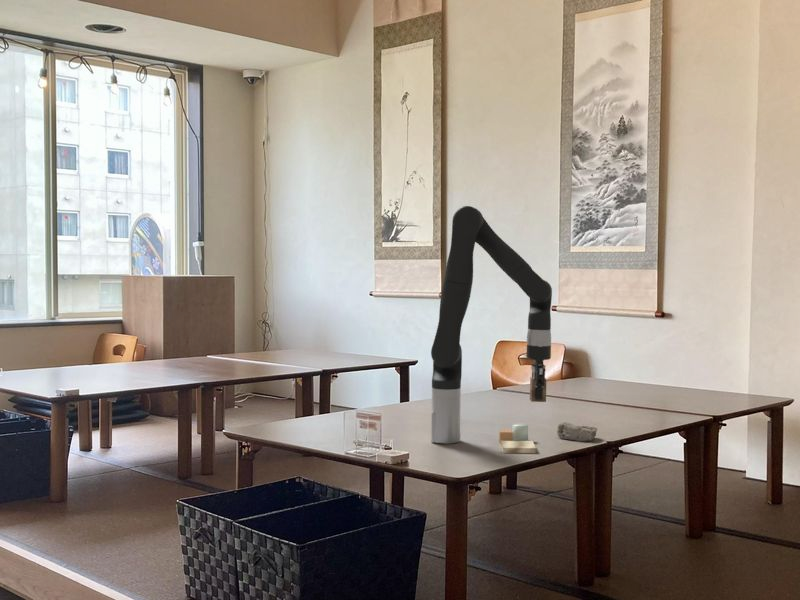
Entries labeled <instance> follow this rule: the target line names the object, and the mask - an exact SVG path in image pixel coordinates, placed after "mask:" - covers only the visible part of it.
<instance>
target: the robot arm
mask: <svg viewBox="0 0 800 600" xmlns="http://www.w3.org/2000/svg"><path fill="white" fill-rule="evenodd" d="M451 223H452V225H451V226H452V227H451V240H450V241H451V242H450V249H449V253H448V258H447V262H446V265H445V270H444V276H443V281H442V287H441V292H440V293H441V294H440V301H439V302H440V303H439V312H438V313H439V317H438V324H437V328H436V333H435V336H434V339H433V344H432V346H431V350H430V355H431V360H432V361H433V362H432V364H433V365H432V377H431V433H430V434H431V435H430V436H431V441H430V442H431V443H437V444H456V443H460V442H461V410H462V409H461V407H462V406H461V397H462V396H461V394H462V393H461V391H462V390H461V386H462V384H461V382H462V375H463V374H462V366H463V358H462V357H463V350H462V346H461V344H460V342H461V331H462V325H463V321H464V318H465V315H466V314H467V313H466V312H467V309H468V308H469V307H468V306H469V304H470V303H469V302H470V298H471V294H472V289H473V281H474V280H473V279H474V251H475V250H474V249H475V245H476V244H478V245H479V246H480V248H482V249H483V250H484V251H485V252H486V253H487V254H488V255H489V256H490V258H492V260H493V261H494V262H495V264H496V265H497V266H498V267H499V268H500V269H501V270H502V271H503V273H505V274H506V275H507V276H508V277H509V278H510V279H511V280H512V282H515V284H517V285H518V287H519V288H520V289H521V290H522V292H524V293H525V294H526V296H527V297H528V298H529V312H528V317H527V318H528V319H527V335H526V359H528V360H532V361H533V362H531V366H530V367H531V377H532V378H533V379H534V380H535V399H536V400H542V395H543V386H544V385H545V384H544V380H545V379H546V365H545V364H544V361H547V360H549V361H550V360H551V358H552V357H551V356H552V333H551V332H552V331H551V329H552V328H551V326H552V322H551V321H552V319H551V318H552V317H551V311H552V310H551V308H552V299H553V298H552V297H553V289H552V288H553V287H552V286H551V284H550V282H548V281H547V280H544V279H543V278H542V277H541V276H540V275H538V273H536V271H534V269H533V268H532V267H531V264H529V263H528V262H527V261H526V260H525V259H524V258H523V256H521V255H520V254H519V253H518V252H516V250H514V249H513V248H512V247H511V246H510V245H509V244H508V243H506V242H505V241H504V240H503V239H502V238H501V237H500V236H499V235H498V234H497V233H496V232H495V230H493V228H491V226H490V224H489V223H488V222H487V220H486V218H485V217H483V214H482V212H481V211H480V210H479V209H477V208H475V207H473V206H470V205H464V206H461V207H459V208H458V209H457V210H456V211H455V213H454V214H453V216H452V221H451ZM538 380H541V382H538Z"/></svg>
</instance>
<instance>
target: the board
mask: <svg viewBox="0 0 800 600" xmlns="http://www.w3.org/2000/svg"><path fill="white" fill-rule="evenodd" d="M499 445H500V447H501V450H502V454H503V453H504V454H505V453H506V454H510V453H511V454H537V446H536V445H535V443H534V441H533V440H528V441H500V443H499Z"/></svg>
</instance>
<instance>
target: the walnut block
mask: <svg viewBox="0 0 800 600" xmlns="http://www.w3.org/2000/svg"><path fill="white" fill-rule="evenodd" d="M529 379H530V380H529V400H530V402H532V403H537V402H538V403H546V402H547V378H545V380H544V384H545V385H544V386H543V395H542V400H536V399H535V380H534V379H533V378H532V376H531V377H530V378H529ZM538 382H541V380H538Z"/></svg>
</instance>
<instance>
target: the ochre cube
mask: <svg viewBox="0 0 800 600" xmlns="http://www.w3.org/2000/svg"><path fill="white" fill-rule="evenodd" d="M500 441H513V431H512V429H499V430H498V443H499V444H500Z"/></svg>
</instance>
